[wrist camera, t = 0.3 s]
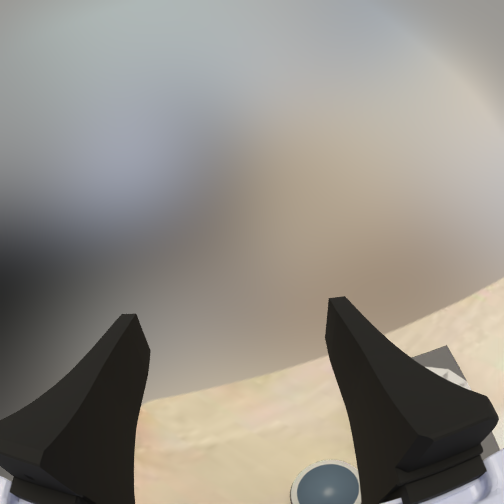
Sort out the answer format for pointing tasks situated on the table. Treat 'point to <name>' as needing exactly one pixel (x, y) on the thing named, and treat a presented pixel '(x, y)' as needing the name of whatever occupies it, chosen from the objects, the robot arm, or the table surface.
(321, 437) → the table surface
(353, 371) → the robot arm
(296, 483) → the lens
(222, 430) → the table surface
